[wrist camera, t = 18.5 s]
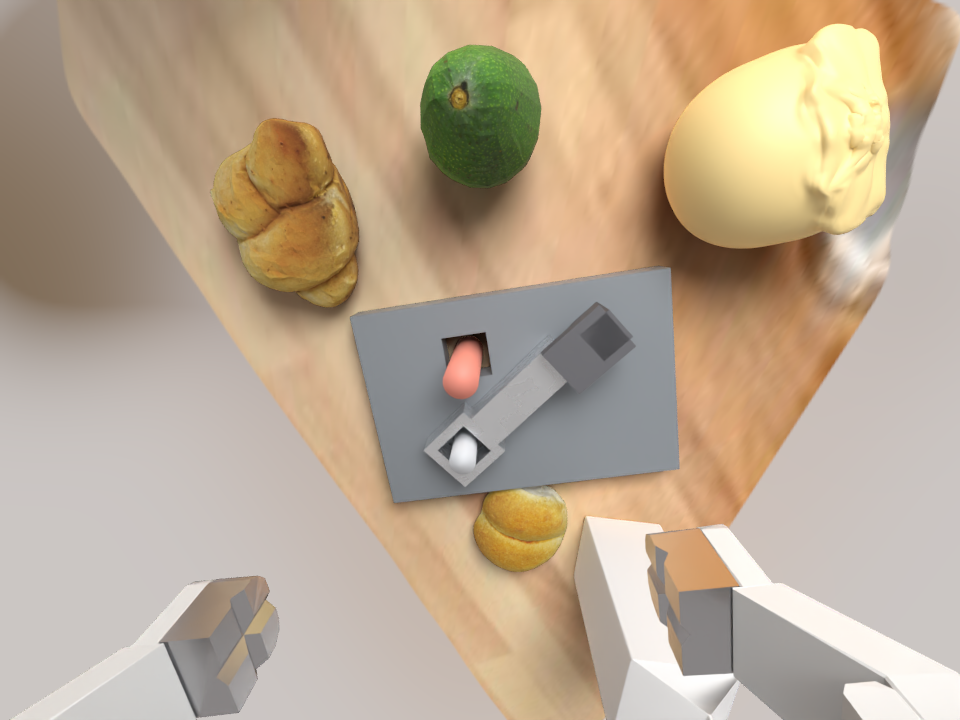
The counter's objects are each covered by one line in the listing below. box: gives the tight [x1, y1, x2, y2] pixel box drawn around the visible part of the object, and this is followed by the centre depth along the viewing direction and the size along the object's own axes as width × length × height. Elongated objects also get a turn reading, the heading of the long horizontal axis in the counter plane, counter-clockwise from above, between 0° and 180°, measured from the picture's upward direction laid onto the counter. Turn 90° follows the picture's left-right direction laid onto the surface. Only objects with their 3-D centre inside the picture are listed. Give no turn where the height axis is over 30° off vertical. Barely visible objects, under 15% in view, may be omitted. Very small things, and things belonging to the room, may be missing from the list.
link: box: [423, 335, 567, 487], centre depth 35 cm, size 13×5×2 cm, turn 136°
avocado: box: [420, 45, 541, 188], centre depth 28 cm, size 8×8×12 cm
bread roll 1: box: [210, 118, 359, 307], centre depth 32 cm, size 13×10×8 cm
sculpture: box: [664, 24, 890, 248], centre depth 28 cm, size 12×12×11 cm
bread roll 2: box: [474, 485, 567, 572], centre depth 41 cm, size 8×9×4 cm
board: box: [350, 266, 680, 503], centre depth 35 cm, size 17×25×7 cm
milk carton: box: [574, 516, 740, 720], centre depth 34 cm, size 7×7×19 cm
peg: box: [443, 336, 483, 399], centre depth 34 cm, size 2×2×9 cm
